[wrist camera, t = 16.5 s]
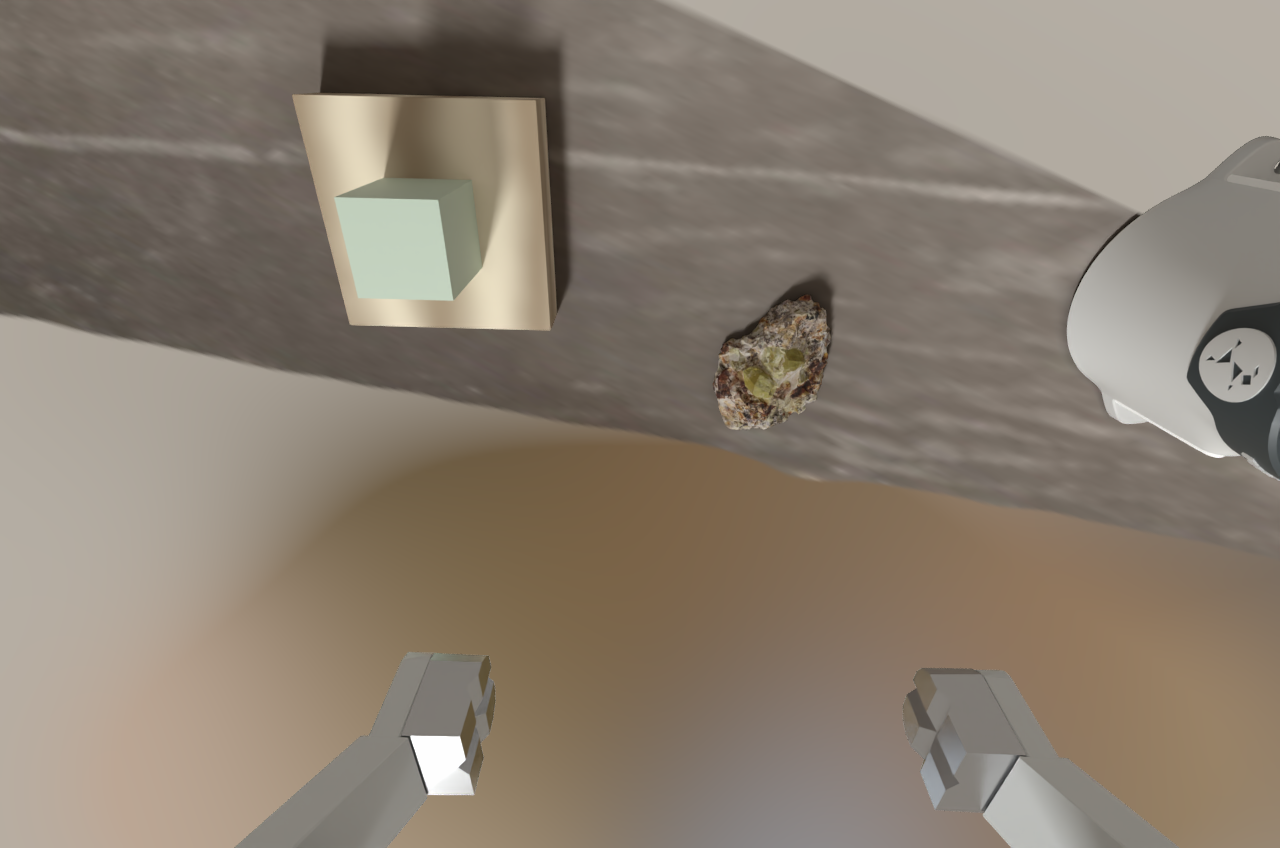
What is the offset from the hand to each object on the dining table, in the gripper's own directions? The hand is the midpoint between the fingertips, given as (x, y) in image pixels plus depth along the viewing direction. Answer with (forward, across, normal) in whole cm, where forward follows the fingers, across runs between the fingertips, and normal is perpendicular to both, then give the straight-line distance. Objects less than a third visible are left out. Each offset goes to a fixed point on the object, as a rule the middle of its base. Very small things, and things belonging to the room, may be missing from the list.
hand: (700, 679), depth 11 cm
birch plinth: (+31, +14, -2) cm, 34 cm away
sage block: (+28, +14, -2) cm, 31 cm away
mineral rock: (+32, -8, +8) cm, 34 cm away
